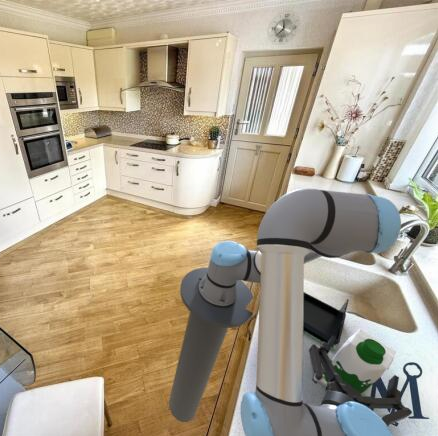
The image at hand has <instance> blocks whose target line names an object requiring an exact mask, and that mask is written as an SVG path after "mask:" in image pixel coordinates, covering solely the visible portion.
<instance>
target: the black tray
mask: <svg viewBox="0 0 438 436" xmlns="http://www.w3.org/2000/svg"><path fill="white" fill-rule="evenodd" d="M348 304H349V298H347V299H346V300H345V301H344V303H343V305H342V306H341V308H340V309H338V308H336V307H334V306H332V305H330V304H328V303H327V302H324V301H323V300H320V299H319V298H317V297H315V296H312V295H311V294H309V293H308V292H307V293H306V292H305V291H304V294H303V335H306V336H307V337H309V338H311V339H312V340H314V341H315V342H317V343H319V344H320V345H321V344H322V343H323V342H324V341H325V342H326V343H328V341H329V340H330V339H331V337H332V336H334V337H336V338H335V340H334V342H333V345H332V347H331V349H330V351H331V352H335V351H336V348H337V345H339V344H340V342H341V337H342V333H343V329H344V325H345V321H346V317H347V313H346V312H347V309H348Z"/></svg>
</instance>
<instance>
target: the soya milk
mask: <svg viewBox="0 0 438 436" xmlns="http://www.w3.org/2000/svg"><path fill="white" fill-rule="evenodd" d="M396 353H397V350H395V349H394V348H392V347H391V346H389V345H387V344H386V343H384V342H383V341H381V340H380V339H378V338H376V337H375V336H374V335H372V334H371V333H369V332H368V331H366V330H364V329H363V328H359V329H358V330H357V331H356V332H355V333H353V334H351V335H350V337H348V338H347V339H346V341H345V342H344V343H343V344H342V346H341V347H339V349H338V351H336V353H335V354H334V356H333V357H332V358H331V359H330V360H331V362H332V364H333V366H334V368H335V370H336V372H337V374H339V375H340V377H341V379H342V380H343V382H346V383H348V384H349V385H350V386H351V387H352V388H354V389H356V390H357V391H359V392H360V394H361V395H362V394H363V393H365V392H366V391H367V390H368V389H369V388H370V387H371V386H372V385H373V384H375V383H376V382H377V381H378V380H379V379H380V378H381V377H382V376H383V375H384V374H385V372H386V371H387V370H389V369H390V367H391V366H392V364H393V362H394V359H395V355H396ZM323 374H324V375H325V380H326V381H327V382H328V377H327V374H326V372H325V371H324V372H323Z"/></svg>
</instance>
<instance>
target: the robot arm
mask: <svg viewBox="0 0 438 436" xmlns="http://www.w3.org/2000/svg"><path fill="white" fill-rule="evenodd" d="M401 227H402V219H401V214H400V212H399V209H398V208H397V206H396V204H395V203H394V202H392V201H391V200H390V199H388V198H386V197H383V196H379V195H372V194H370V193H357V192H345V191H336V190H335V191H334V190H325V189H318V188H309V187H307V188H306V187H305V188H299V189H294V190H292V191H290V192H287V193H285V194H284V195H282V196H280V197H279V198H278V199H276V200H275V201H274V202H273V203H272V204H271V206H270V207H269V208H268V209H267V210H266V212H265V214H264V215H263V217H262V220H261V222H260V223H259V227H258V230H257V235H256V249H257V250H250V249H247V248H246V247H245V246H244V245H243V244H241V243H238V242H236V241H231V240H225V241H224V240H223V241H221V242H218V243H217V244H215V245H214V246H213V248H212V251H211V254H210V258H209V261H208V266H207V268H208V270H207V273H206V275H205V276H204V277H203V278H199V280H201V281H200V283H199V287H198V291H199V294H200V296H201V297H202V298H203V299H204V300H205V301H206V302H207V303H209V304H211V305H213V306H216V307H222V308H224V307H229V306H231V305H233V304H234V302H235V300H236V297H237V290H236V282H237V280H241V281H242V282H250V283H254V284H255V283H256V284H259V306H258V307H259V309H258V331H257V334H258V335H257V355H256V357H257V358H256V381H255V382H256V385H255V391H252V392H245V393H244V394H243V395H242V398H241V401H240V419H241V420H240V421H241V425H242V430H243V432H244V433H243V434H244V435H245V436H394V435H393V433H392V431H391V430H390V428H389V426H390V425H392V424H395V423H397V422H400V421H402V420H405V419H406V418H408V417H409V416H411V415H412V414H413V412H412V410H411V409H410V408H409V407H407V406H405V405H404V404H403V403H402V395H403V392H402V391H401V390H399V389H398V385H399V379H400V377H399V376H398V375H396V374H394V375H393V376H392V377H391V378H389V379H388V382H387V387H386V393H385V397H372V396H370V395H369V396H367V395H366V396H364V395H362V394H360V392H359V391H357V390H356V389H354V388H352V387H351V386H350V385H349V384H348V383H346V382H343V380H342V379H341V377H340V375H339V374H337V372H336V370H335V368H334V366H333V364H332V362H331V360H332V359H330V357H329V353H330V351H331V350H330V349H331V347H332V345H333V342H334V340H335V338H336V337H334V336H332V337H331V339H330V340H329V341H328V343H326V342H325V341H324V342H323V343H322V344H320V346H317V345H316V344H315V343H312V344H311V346H310V347H309V349H308V354H309V359H310V363H311V369H312V378H311V380H312V382H313V383H314V384H316V385H317V384H320V385H321V386H323V387H324V388H325V393H324V396H323V398H322V400H321V402H320V405H315V404H308V403H305V402H303V401H304V399H303V398H304V397H303V396H304V395H303V394H304V333H303V294H304V292H305V291H304V288H305V287H304V286H305V285H304V281H305V280H304V278H305V277H304V276H305V274H304V273H305V271H304V270H305V264H307V263H310V262H313V261H315V260H317V259H320V258H328V259H336V258H337V259H338V258H340V257H343V256H346V255H349V254H351V253H354V252H365V253H366V254H367V253H368V254H372V253H375V254H377V253H384V252H385V251H388V250H389V249H391V248H392V247H393V246H394V245H395V243H396V242H397V240H398V238H399V234H400V232H401ZM325 372H326V374H327V377H328V382H327V381H326V380H325V375H324V373H325ZM372 409H374V410H376V409H377V410H379V409H380V410H392V412H390V413H387V414H384V415H383V416H380V415H378V414H377V413H376V412H375V411H374V410H372ZM394 410H395V411H394Z"/></svg>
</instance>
